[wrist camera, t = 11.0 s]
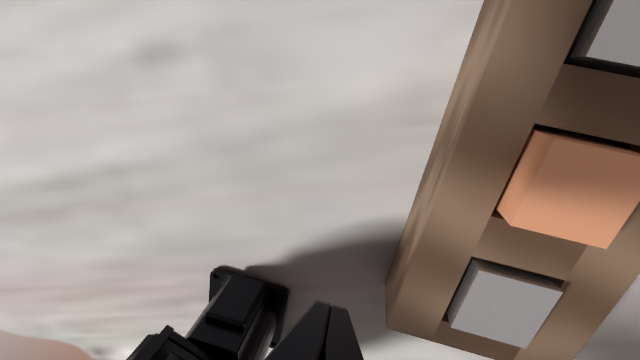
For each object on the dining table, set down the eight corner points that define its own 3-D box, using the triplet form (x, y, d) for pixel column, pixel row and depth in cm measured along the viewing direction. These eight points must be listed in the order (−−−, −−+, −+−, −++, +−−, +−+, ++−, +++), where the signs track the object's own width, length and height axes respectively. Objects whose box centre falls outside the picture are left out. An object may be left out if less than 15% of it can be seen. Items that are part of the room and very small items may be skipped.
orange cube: (557, 209, 16) (606, 249, 13) (482, 191, 17) (510, 225, 13) (597, 139, 15) (665, 162, 11) (513, 121, 15) (554, 138, 11)
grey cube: (499, 297, 19) (525, 348, 16) (437, 281, 20) (450, 327, 16) (527, 248, 18) (563, 292, 14) (459, 231, 18) (479, 270, 15)
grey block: (623, 75, 14) (704, 78, 10) (535, 58, 14) (586, 56, 11) (678, -24, 12) (796, -59, 9) (578, -40, 13) (653, -79, 9)
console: (526, 322, 21) (559, 378, 17) (385, 283, 22) (386, 328, 18) (770, -63, 12) (940, -119, 8) (518, -99, 13) (573, -162, 9)
